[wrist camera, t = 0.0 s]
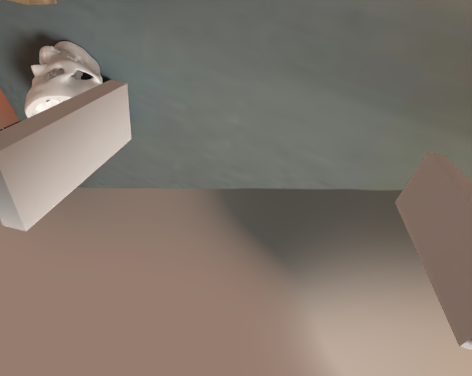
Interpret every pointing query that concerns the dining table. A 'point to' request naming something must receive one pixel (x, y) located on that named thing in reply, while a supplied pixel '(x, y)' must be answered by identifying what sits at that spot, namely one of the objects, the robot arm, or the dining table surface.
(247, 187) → the dining table surface
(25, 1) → the beech block
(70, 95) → the skull bowl
